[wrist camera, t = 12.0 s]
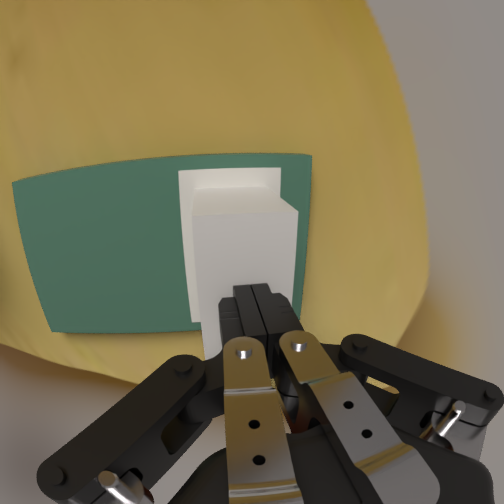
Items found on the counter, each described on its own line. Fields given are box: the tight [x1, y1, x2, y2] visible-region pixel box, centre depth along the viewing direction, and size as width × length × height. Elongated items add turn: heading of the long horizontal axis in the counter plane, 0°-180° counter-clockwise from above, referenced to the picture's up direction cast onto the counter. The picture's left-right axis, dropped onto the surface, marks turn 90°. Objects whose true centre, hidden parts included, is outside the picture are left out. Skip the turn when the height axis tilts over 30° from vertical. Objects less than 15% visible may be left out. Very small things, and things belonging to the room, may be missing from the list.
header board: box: [12, 153, 312, 333], centre depth 17 cm, size 20×12×4 cm, turn 90°
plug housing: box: [192, 186, 298, 360], centre depth 15 cm, size 8×4×6 cm, turn 0°
